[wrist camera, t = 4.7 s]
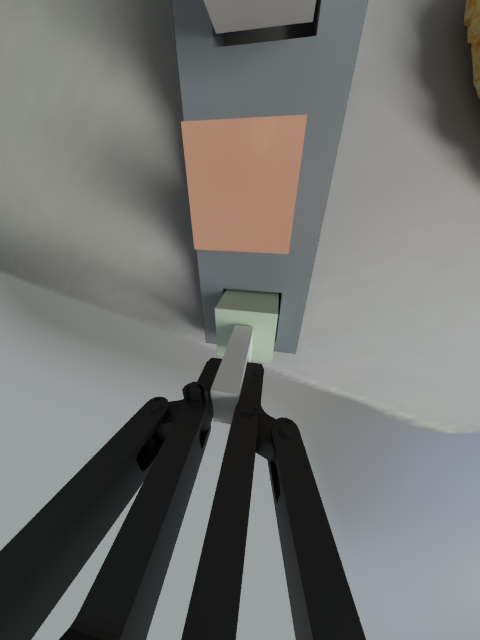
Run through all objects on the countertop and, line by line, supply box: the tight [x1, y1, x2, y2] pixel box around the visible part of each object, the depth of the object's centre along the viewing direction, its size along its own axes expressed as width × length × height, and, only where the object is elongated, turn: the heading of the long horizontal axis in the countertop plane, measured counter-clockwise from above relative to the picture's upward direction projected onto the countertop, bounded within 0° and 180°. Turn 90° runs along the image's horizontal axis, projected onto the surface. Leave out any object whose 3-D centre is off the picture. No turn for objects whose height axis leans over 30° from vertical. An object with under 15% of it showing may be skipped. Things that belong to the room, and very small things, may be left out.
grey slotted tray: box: [172, 0, 368, 354], centre depth 15 cm, size 28×10×2 cm, turn 179°
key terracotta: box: [181, 114, 307, 254], centre depth 11 cm, size 5×5×6 cm
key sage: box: [215, 289, 279, 363], centre depth 19 cm, size 5×5×6 cm
